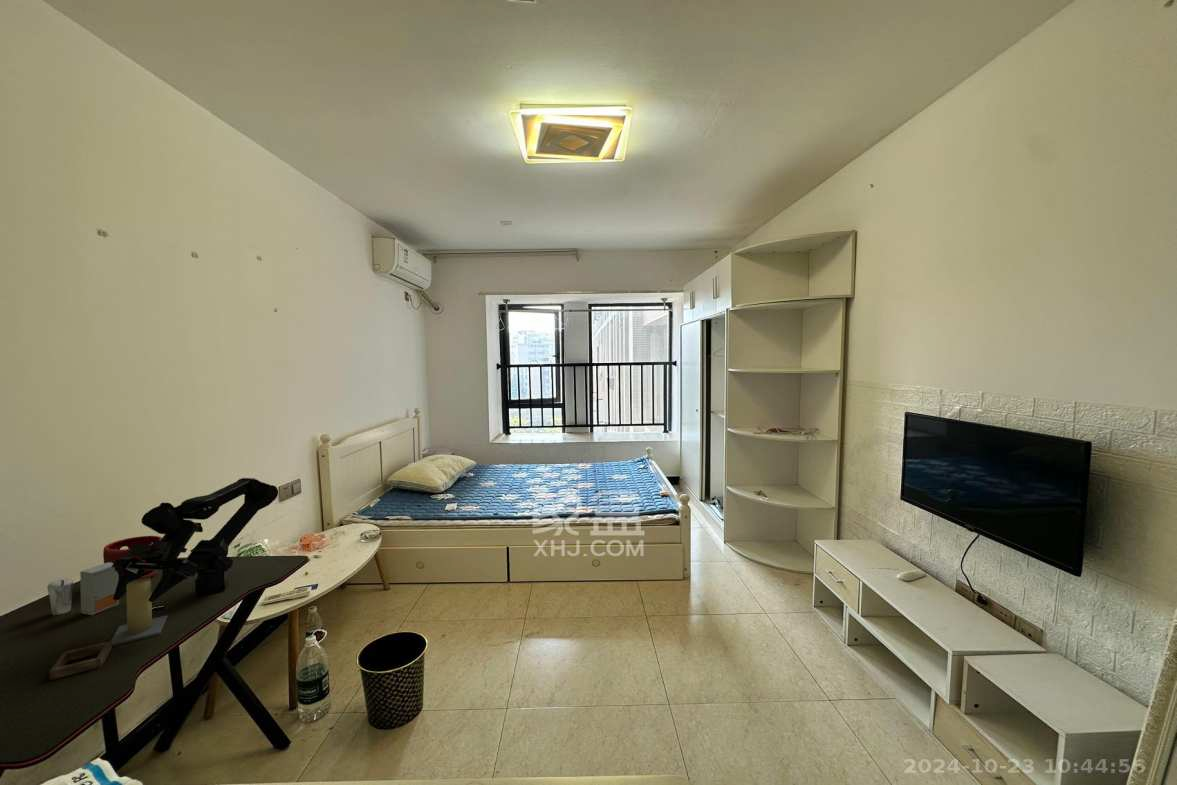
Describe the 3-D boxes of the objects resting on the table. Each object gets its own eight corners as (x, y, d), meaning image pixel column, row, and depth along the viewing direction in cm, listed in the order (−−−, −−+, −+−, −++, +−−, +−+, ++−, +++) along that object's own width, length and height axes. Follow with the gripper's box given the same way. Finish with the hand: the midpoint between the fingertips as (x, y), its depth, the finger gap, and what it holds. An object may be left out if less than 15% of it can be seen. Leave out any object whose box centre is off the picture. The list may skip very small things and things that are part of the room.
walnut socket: (111, 648, 104) (111, 640, 104) (101, 666, 98) (100, 658, 98) (64, 660, 99) (63, 652, 99) (49, 680, 93) (49, 671, 93)
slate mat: (167, 617, 117) (167, 615, 117) (159, 634, 110) (159, 632, 110) (119, 628, 112) (119, 626, 112) (108, 646, 104) (108, 644, 104)
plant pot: (133, 589, 131) (132, 551, 130) (91, 587, 131) (89, 549, 130) (175, 569, 144) (174, 534, 143) (136, 568, 144) (135, 533, 143)
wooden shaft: (153, 621, 114) (152, 576, 113) (149, 630, 110) (148, 583, 109) (130, 627, 111) (129, 580, 110) (125, 636, 108) (124, 588, 107)
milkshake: (50, 619, 114) (49, 583, 114) (46, 613, 117) (45, 577, 117) (76, 611, 118) (75, 576, 118) (72, 605, 121) (71, 571, 121)
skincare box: (92, 615, 117) (90, 573, 116) (80, 613, 118) (79, 571, 117) (120, 604, 123) (119, 563, 122) (109, 602, 123) (107, 561, 123)
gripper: (118, 527, 113) (68, 589, 103) (186, 530, 113) (143, 592, 103) (150, 544, 122) (107, 602, 111) (214, 546, 121) (176, 605, 111)
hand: (132, 600), depth 109 cm, fingers open, 9 cm apart
